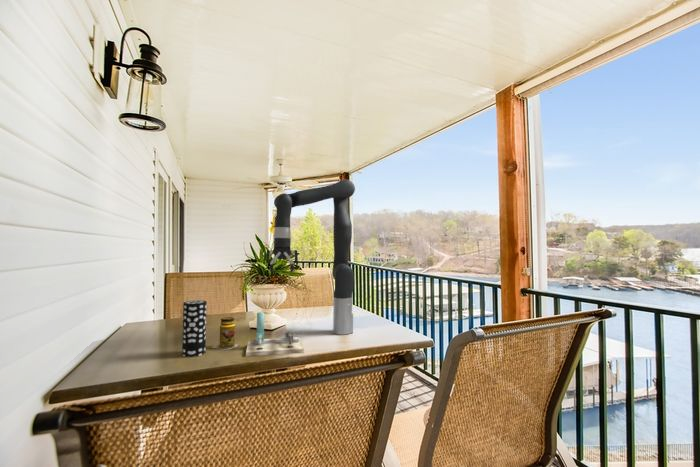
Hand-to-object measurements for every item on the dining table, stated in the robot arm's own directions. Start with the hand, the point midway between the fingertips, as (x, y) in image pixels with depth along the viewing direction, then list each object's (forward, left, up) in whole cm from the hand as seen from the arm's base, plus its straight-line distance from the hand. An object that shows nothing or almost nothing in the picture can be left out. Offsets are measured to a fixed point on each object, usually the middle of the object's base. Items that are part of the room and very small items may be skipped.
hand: (281, 272), depth 155 cm
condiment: (+23, +7, -30) cm, 39 cm away
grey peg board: (+3, +15, -30) cm, 34 cm away
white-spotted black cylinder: (+34, +14, -30) cm, 48 cm away
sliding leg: (+9, +14, -28) cm, 32 cm away
